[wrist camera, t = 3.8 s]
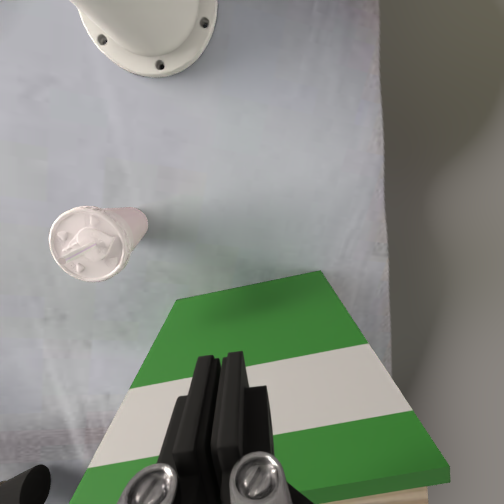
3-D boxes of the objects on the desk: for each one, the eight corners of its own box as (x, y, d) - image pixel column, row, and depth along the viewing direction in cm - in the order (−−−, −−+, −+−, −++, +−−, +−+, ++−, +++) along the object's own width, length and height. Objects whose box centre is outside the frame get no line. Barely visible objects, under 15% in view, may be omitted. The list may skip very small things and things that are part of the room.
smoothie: (169, 240, 35) (118, 290, 21) (118, 258, 35) (36, 317, 22) (146, 186, 33) (74, 203, 19) (92, 205, 33) (-14, 234, 20)
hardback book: (320, 270, 36) (449, 466, 13) (329, 324, 38) (454, 578, 15) (176, 300, 37) (53, 532, 14) (192, 351, 39) (109, 629, 16)
